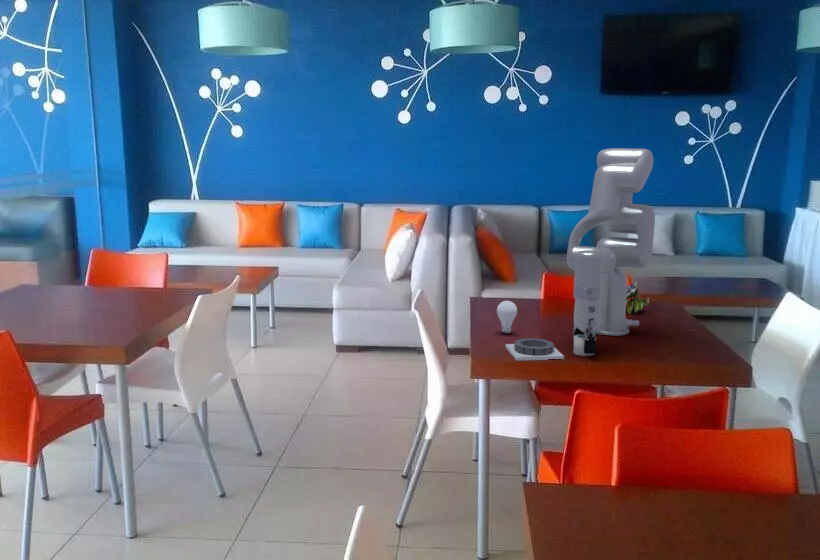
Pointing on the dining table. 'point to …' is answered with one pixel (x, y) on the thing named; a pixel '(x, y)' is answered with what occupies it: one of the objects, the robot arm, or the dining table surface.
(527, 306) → the dining table surface
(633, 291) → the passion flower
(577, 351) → the knob
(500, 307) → the light bulb
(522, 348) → the segmented ring plate
